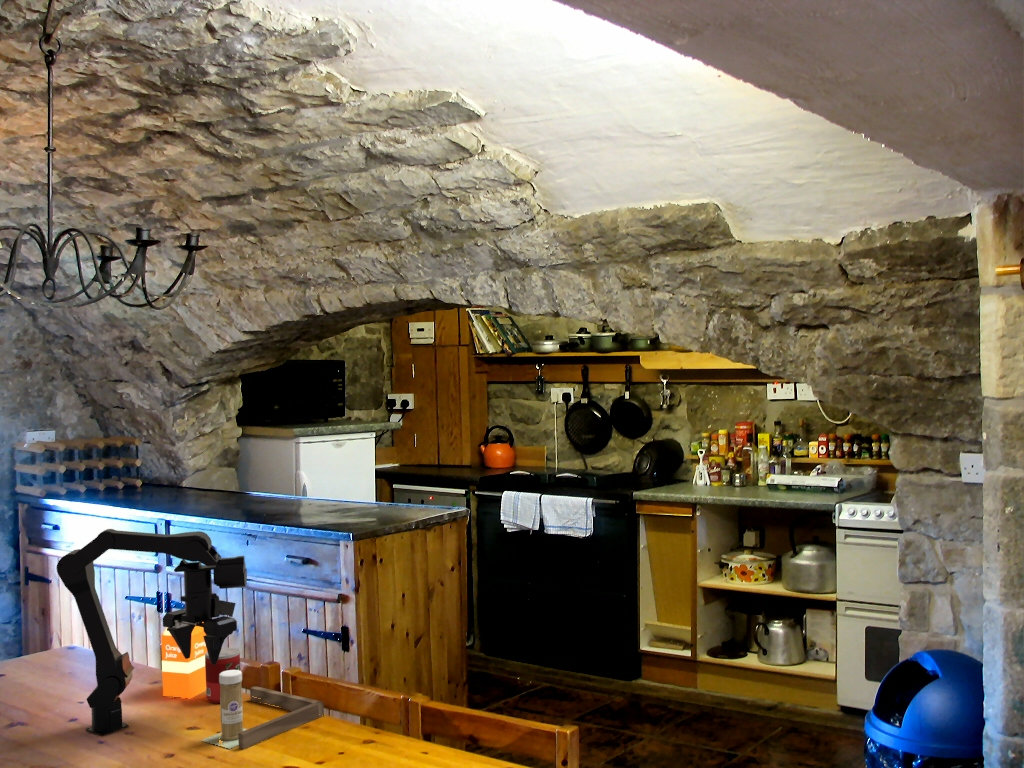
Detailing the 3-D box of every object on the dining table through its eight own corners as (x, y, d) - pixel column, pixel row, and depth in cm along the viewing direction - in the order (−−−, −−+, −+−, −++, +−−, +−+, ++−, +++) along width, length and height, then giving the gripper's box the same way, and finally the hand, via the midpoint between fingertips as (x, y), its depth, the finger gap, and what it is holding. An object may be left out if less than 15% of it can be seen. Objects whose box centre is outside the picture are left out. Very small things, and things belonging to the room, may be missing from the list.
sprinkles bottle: (227, 742, 194) (225, 677, 194) (217, 737, 198) (215, 672, 198) (247, 736, 197) (245, 671, 197) (237, 731, 201) (235, 667, 201)
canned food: (231, 704, 218) (229, 657, 218) (199, 703, 220) (198, 656, 220) (247, 693, 226) (245, 647, 226) (216, 692, 228) (214, 646, 228)
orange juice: (162, 696, 226) (159, 612, 226) (186, 684, 234) (183, 603, 234) (190, 699, 224) (187, 614, 224) (213, 687, 232) (210, 605, 232)
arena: (168, 731, 203) (167, 717, 203) (255, 699, 222) (255, 686, 222) (237, 752, 190) (237, 737, 190) (323, 715, 209) (323, 702, 209)
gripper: (255, 587, 210) (258, 657, 210) (202, 579, 220) (204, 646, 220) (213, 597, 201) (216, 671, 201) (160, 589, 211) (162, 659, 211)
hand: (200, 661), depth 209 cm, fingers open, 9 cm apart
